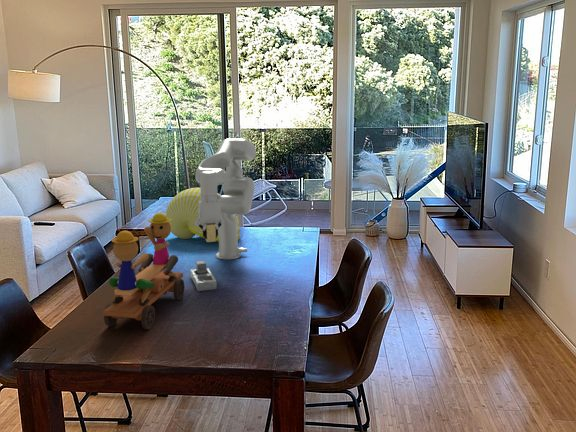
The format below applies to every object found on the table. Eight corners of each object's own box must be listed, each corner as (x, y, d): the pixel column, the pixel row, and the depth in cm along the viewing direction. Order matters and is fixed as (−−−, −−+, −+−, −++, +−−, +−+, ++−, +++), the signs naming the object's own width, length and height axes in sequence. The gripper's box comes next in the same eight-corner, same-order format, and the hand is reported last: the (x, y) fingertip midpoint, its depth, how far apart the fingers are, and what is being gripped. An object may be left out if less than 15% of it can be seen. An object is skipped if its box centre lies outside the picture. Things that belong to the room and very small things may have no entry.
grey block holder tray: (208, 275, 263) (208, 267, 262) (216, 288, 245) (216, 281, 244) (191, 277, 260) (190, 269, 259) (197, 290, 242) (197, 283, 242)
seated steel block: (205, 277, 259) (204, 260, 257) (206, 280, 255) (206, 263, 254) (196, 278, 258) (195, 261, 256) (197, 281, 254) (197, 264, 252)
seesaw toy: (141, 337, 198) (135, 237, 190) (99, 334, 200) (91, 235, 193) (188, 292, 241) (184, 209, 233) (152, 290, 244) (148, 207, 236)
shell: (228, 260, 308) (241, 248, 337) (243, 205, 302) (254, 197, 331) (152, 237, 312) (170, 227, 341) (164, 182, 306) (182, 176, 335)
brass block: (214, 239, 266) (213, 222, 264) (215, 241, 262) (215, 224, 260) (205, 239, 264) (205, 223, 263) (207, 242, 261) (206, 225, 259)
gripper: (225, 195, 265) (226, 234, 269) (189, 198, 260) (191, 237, 264) (229, 198, 258) (230, 238, 262) (191, 201, 253) (193, 241, 257)
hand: (210, 237), depth 263 cm, fingers closed on brass block, 4 cm apart
